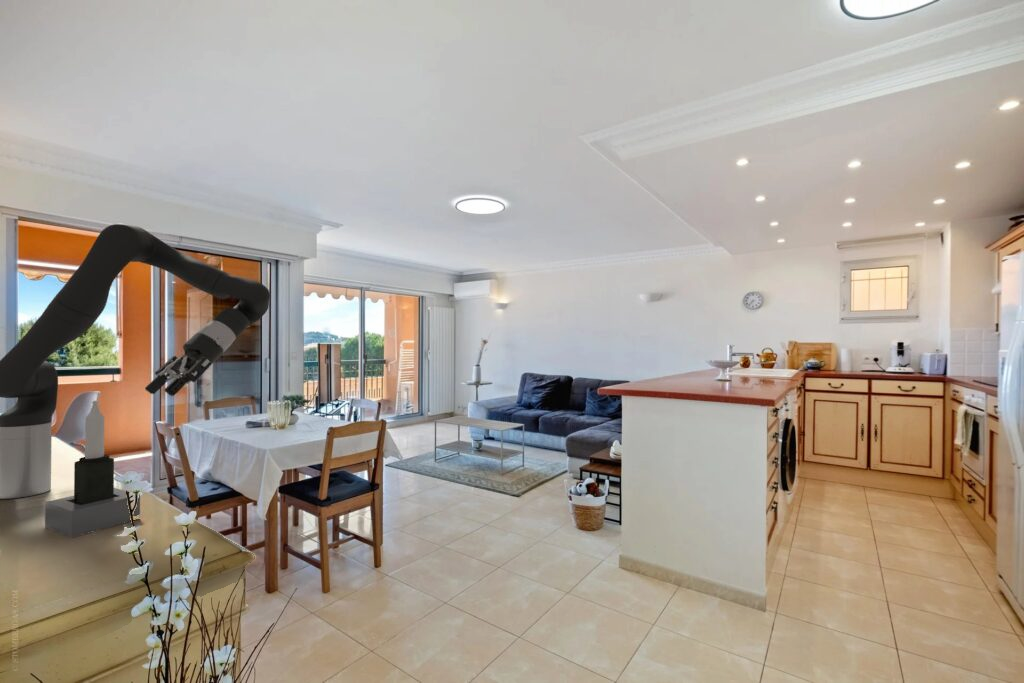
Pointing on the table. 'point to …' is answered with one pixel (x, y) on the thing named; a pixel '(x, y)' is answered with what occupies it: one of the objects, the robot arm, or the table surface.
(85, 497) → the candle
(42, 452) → the robot arm
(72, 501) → the holder
